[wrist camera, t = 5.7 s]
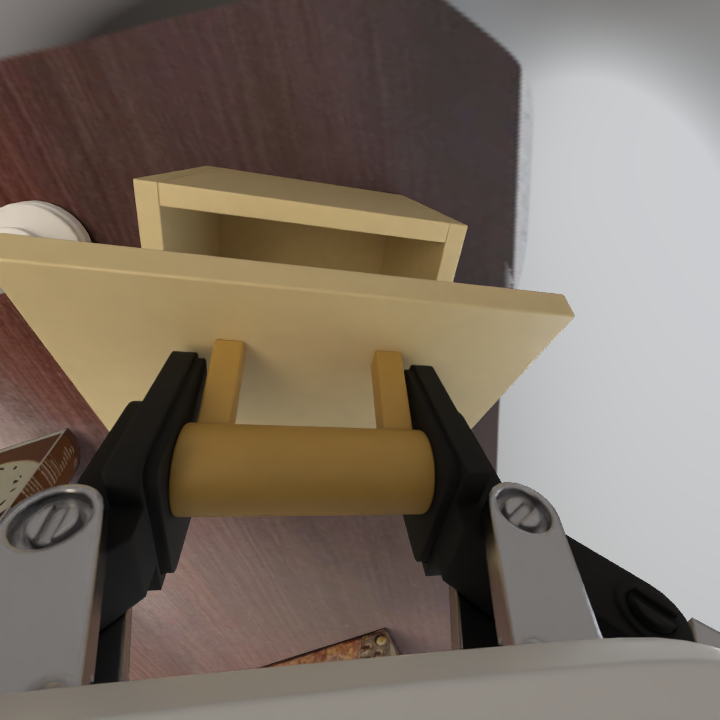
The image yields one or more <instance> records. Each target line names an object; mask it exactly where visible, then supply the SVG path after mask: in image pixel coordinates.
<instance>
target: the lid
mask: <svg viewBox="0 0 720 720" xmlns="http://www.w3.org/2000/svg"><path fill="white" fill-rule="evenodd" d="M0 287H1V288H2V289H3V291H4V292H5V293H6V295H7V296H8V297H9V299H10V300H11V301H12V303H13V304H14V305H15V307H16V308H17V309H18V311H19V312H20V313H21V315H22V316H23V317H24V319H25V320H26V321H27V323H28V324H29V325H30V327H31V328H32V329H33V331H34V332H35V333H36V335H37V336H38V337H39V339H40V340H41V341H42V343H43V344H44V345H45V347H46V348H47V349H48V351H49V352H50V353H51V355H52V356H53V357H54V359H55V360H56V361H57V363H58V364H59V365H60V367H61V368H62V369H63V371H64V372H65V373H66V375H67V376H68V377H69V379H70V380H71V381H72V383H73V384H74V385H75V387H76V388H77V389H78V391H79V392H80V393H81V395H82V396H83V397H84V399H85V400H86V401H87V403H88V404H89V405H90V407H91V408H92V409H93V411H94V412H95V413H96V415H97V416H98V417H99V419H100V420H101V421H102V423H103V424H104V425H105V427H106V428H107V429H108V431H109V432H110V431H111V429H112V427H113V426H114V424H115V423H116V421H117V420H118V418H119V417H120V415H121V413H122V412H123V410H124V409H125V407H126V406H127V405H128V404H129V402H131V401H143V399H144V398H145V396H146V394H147V393H148V391H149V389H150V387H151V386H152V384H153V382H154V381H155V379H156V377H157V376H158V374H159V372H160V371H161V369H162V367H163V366H164V364H165V362H166V361H167V359H168V357H169V356H170V354H171V352H172V351H183V352H197V353H198V356H199V358H205V359H206V363H207V377H206V381H205V386H204V390H203V395H202V400H201V404H200V409H199V413H198V418H197V422H196V423H190V422H189V423H187V424H185V425H184V426H183V428H182V429H181V431H180V433H179V435H178V438H177V441H176V444H175V447H174V451H173V455H172V460H171V466H170V473H169V485H168V497H169V506H170V510H171V513H172V515H173V516H176V517H226V516H314V515H403V514H424V513H425V512H427V511H428V509H429V508H430V506H431V503H432V500H433V496H434V489H435V463H434V456H433V451H432V447H431V444H430V441H429V439H428V437H427V435H426V434H425V433H424V432H423V431H421V430H413V427H412V421H411V415H410V408H409V402H408V395H407V389H406V382H405V376H404V370H405V369H408V370H409V368H410V366H411V365H426V366H432V367H433V368H434V370H435V372H436V373H437V375H438V377H439V379H440V380H441V382H442V384H443V386H444V387H445V389H446V391H447V393H448V395H449V396H450V398H451V400H452V402H453V403H454V405H455V407H456V409H457V410H458V412H459V413H461V414H462V415H463V417H464V418H465V420H466V422H467V424H468V425H469V427H470V429H471V428H472V427H473V426H474V425H475V424H476V423H477V422H478V421H479V420H480V419H481V418H482V416H483V415H484V414H485V413H486V412H487V411H488V410H489V409H490V408H491V407H492V406H493V405H494V403H495V402H496V401H497V400H498V399H499V398H500V397H501V396H502V395H503V394H504V393H505V392H506V390H507V389H508V388H509V387H510V386H511V385H512V384H513V383H514V382H515V381H516V380H517V379H518V377H519V376H520V375H521V374H522V373H523V372H524V371H525V370H526V369H527V368H528V367H529V366H530V364H531V363H532V362H533V361H534V360H535V359H536V358H537V357H538V356H539V355H540V354H541V352H543V350H544V349H545V348H546V347H547V346H548V345H549V344H550V343H551V342H552V341H553V340H554V338H555V337H556V336H557V335H558V334H559V333H560V332H561V331H562V330H563V329H564V328H565V327H566V326H567V324H568V323H569V322H570V321H571V320H572V319H573V318H574V313H573V311H572V309H571V308H570V306H569V304H568V302H567V300H566V298H565V297H564V295H562V294H553V293H545V292H536V291H527V290H518V289H509V288H500V287H490V286H481V285H472V284H463V283H454V282H445V281H436V280H427V279H418V278H408V277H399V276H390V275H381V274H372V273H363V272H354V271H345V270H335V269H326V268H317V267H308V266H299V265H290V264H281V263H272V262H262V261H253V260H244V259H235V258H226V257H217V256H208V255H199V254H189V253H180V252H171V251H162V250H153V249H144V248H135V247H126V246H116V245H107V244H98V243H89V242H80V241H71V240H62V239H53V238H44V237H34V236H25V235H16V234H7V233H0Z"/></svg>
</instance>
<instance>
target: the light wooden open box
mask: <svg viewBox="0 0 720 720" xmlns="http://www.w3.org/2000/svg"><path fill="white" fill-rule="evenodd" d="M133 183H134V192H135V200H136V208H137V216H138V224H139V232H140V240H141V248H144V249H153V250H162V251H171V252H180V253H189V254H199V255H208V256H217V257H226V258H235V259H244V260H253V261H262V262H272V263H281V264H290V265H299V266H308V267H317V268H326V269H335V270H345V271H354V272H363V273H372V274H381V275H390V276H399V277H408V278H418V279H427V280H436V281H445V282H453V279H454V275H455V272H456V268H457V264H458V260H459V257H460V253H461V249H462V245H463V242H464V238H465V234H466V231H467V225H465V224H463V223H461V222H458V221H456V220H454V219H452V218H450V217H448V216H446V215H443V214H441V213H439V212H437V211H435V210H433V209H431V208H428V207H426V206H424V205H422V204H420V203H418V202H416V201H413V200H411V199H409V198H407V197H405V196H403V195H398V194H391V193H384V192H378V191H371V190H365V189H358V188H351V187H345V186H338V185H332V184H325V183H318V182H312V181H305V180H298V179H292V178H285V177H279V176H272V175H265V174H259V173H252V172H246V171H239V170H232V169H226V168H219V167H212V166H203V167H198V168H192V169H186V170H181V171H175V172H169V173H164V174H158V175H152V176H147V177H141V178H135V179H133Z"/></svg>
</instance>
